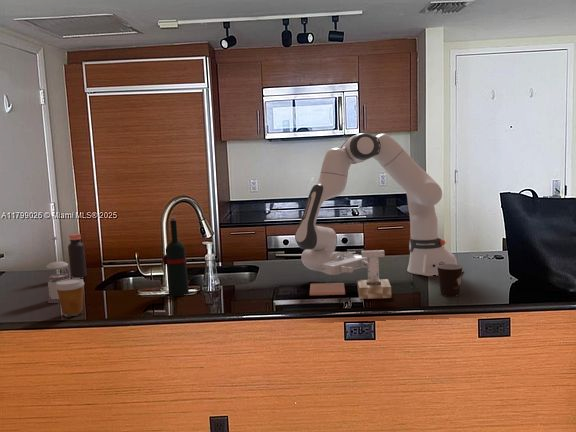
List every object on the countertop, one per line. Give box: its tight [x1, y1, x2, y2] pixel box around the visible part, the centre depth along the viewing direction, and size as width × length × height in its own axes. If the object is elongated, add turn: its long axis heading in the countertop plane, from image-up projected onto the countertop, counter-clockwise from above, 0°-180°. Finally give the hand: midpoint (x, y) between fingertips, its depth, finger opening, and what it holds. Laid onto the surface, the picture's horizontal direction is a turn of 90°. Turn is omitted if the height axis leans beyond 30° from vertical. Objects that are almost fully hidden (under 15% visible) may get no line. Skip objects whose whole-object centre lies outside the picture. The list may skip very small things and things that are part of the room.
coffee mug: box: [437, 263, 464, 297], centre depth 192 cm, size 12×9×10 cm
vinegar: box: [67, 233, 88, 277], centre depth 245 cm, size 7×7×20 cm
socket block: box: [357, 278, 392, 300], centre depth 196 cm, size 11×11×4 cm
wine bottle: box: [161, 216, 190, 297], centre depth 208 cm, size 8×10×30 cm
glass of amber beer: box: [55, 278, 85, 314], centre depth 188 cm, size 10×10×12 cm
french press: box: [45, 236, 71, 299], centre depth 208 cm, size 10×12×25 cm
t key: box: [361, 249, 385, 285], centre depth 196 cm, size 8×4×16 cm, turn 86°
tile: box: [309, 282, 346, 296], centre depth 205 cm, size 13×13×1 cm
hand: (361, 267), depth 200 cm, fingers open, 8 cm apart
